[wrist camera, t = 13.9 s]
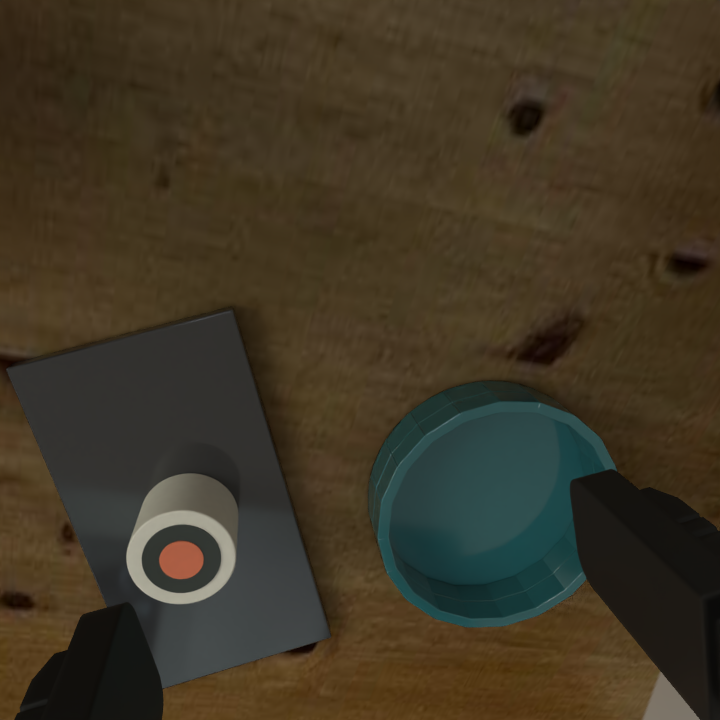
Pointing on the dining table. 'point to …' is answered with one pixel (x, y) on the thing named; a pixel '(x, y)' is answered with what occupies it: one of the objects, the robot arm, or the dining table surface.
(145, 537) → the sushi roll
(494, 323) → the dining table surface
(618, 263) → the dining table surface
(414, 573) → the bowl
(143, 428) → the glossy dark tile
